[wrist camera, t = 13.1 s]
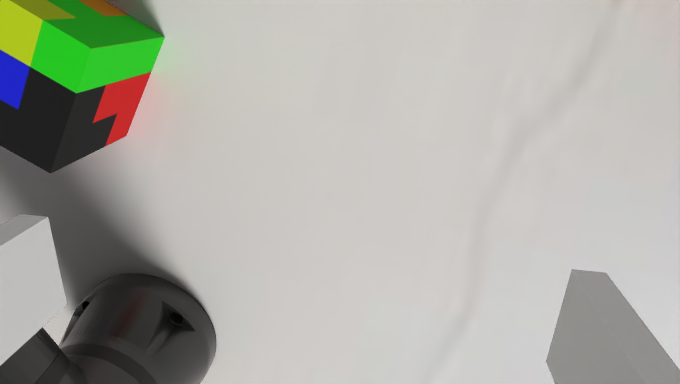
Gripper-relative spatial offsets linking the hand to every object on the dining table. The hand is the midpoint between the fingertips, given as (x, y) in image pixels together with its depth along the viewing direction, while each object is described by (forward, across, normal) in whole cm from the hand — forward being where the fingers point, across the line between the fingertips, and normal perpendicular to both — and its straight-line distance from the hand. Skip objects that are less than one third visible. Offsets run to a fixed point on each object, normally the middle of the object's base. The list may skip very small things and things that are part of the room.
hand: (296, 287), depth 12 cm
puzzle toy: (+29, -24, +1) cm, 38 cm away
